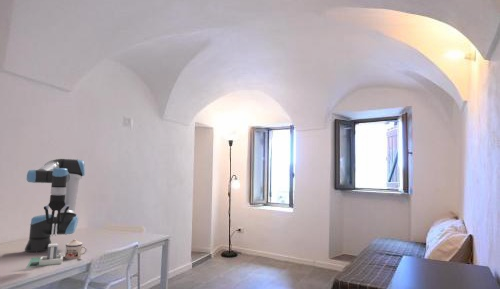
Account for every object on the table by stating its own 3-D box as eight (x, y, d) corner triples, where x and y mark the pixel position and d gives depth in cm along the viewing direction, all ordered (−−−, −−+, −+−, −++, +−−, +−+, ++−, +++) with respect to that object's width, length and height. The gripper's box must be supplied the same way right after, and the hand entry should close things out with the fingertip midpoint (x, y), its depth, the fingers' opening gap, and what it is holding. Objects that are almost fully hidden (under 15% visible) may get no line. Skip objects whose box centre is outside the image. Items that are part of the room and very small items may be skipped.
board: (31, 260, 187) (32, 254, 187) (62, 258, 194) (63, 252, 194) (26, 269, 171) (26, 263, 171) (60, 266, 178) (60, 260, 178)
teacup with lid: (62, 260, 188) (64, 241, 189) (66, 256, 197) (68, 237, 198) (84, 260, 191) (85, 241, 192) (87, 256, 200) (89, 237, 201)
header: (40, 261, 182) (41, 256, 182) (62, 259, 187) (63, 255, 187) (38, 265, 175) (39, 260, 175) (61, 263, 180) (62, 258, 180)
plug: (47, 261, 182) (48, 243, 183) (56, 260, 184) (57, 243, 185) (46, 263, 178) (48, 245, 179) (55, 263, 180) (57, 245, 181)
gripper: (43, 194, 178) (38, 237, 176) (71, 195, 184) (67, 236, 182) (44, 193, 184) (40, 234, 182) (71, 194, 191) (68, 233, 189)
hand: (53, 235), depth 182 cm, fingers closed
